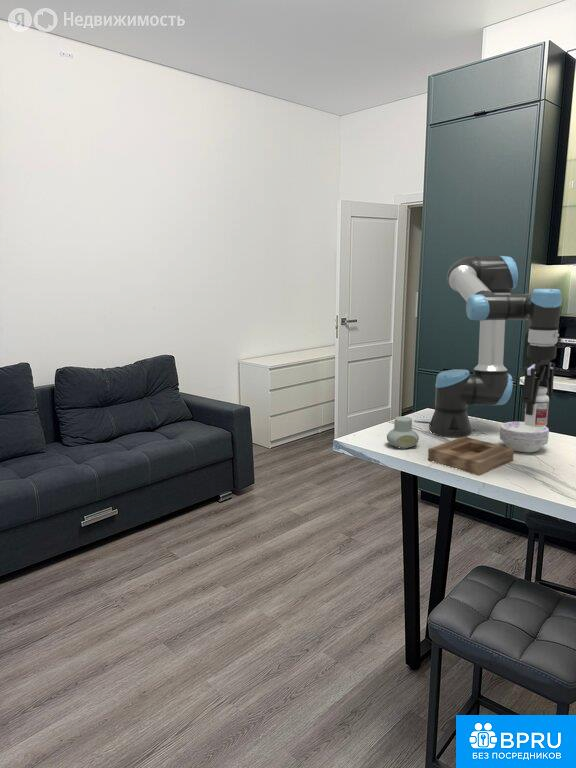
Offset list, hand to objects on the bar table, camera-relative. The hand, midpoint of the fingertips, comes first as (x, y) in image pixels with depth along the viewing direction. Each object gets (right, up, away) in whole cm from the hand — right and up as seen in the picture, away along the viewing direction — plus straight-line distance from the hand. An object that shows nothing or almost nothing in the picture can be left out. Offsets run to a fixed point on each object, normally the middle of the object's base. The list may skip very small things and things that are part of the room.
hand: (535, 422), depth 159 cm
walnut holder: (-14, -13, +16) cm, 25 cm away
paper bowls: (+8, -11, +27) cm, 30 cm away
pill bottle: (0, -1, 0) cm, 1 cm away
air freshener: (-32, -11, +31) cm, 46 cm away
